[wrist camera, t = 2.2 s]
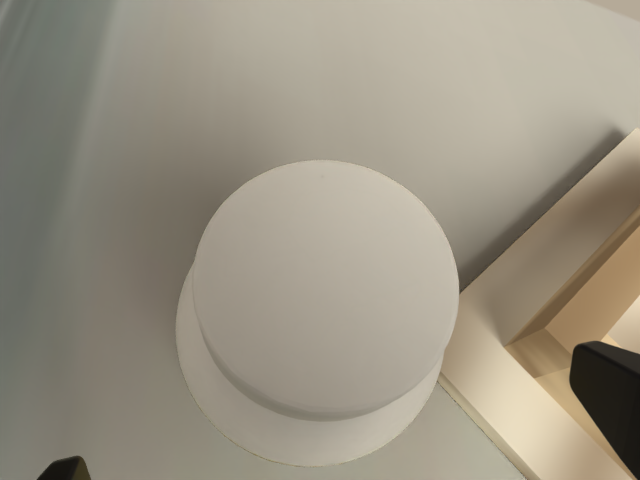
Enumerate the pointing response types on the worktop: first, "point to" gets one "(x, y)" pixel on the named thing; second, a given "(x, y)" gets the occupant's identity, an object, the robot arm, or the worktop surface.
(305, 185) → the pill bottle
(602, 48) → the worktop surface
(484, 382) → the socket
